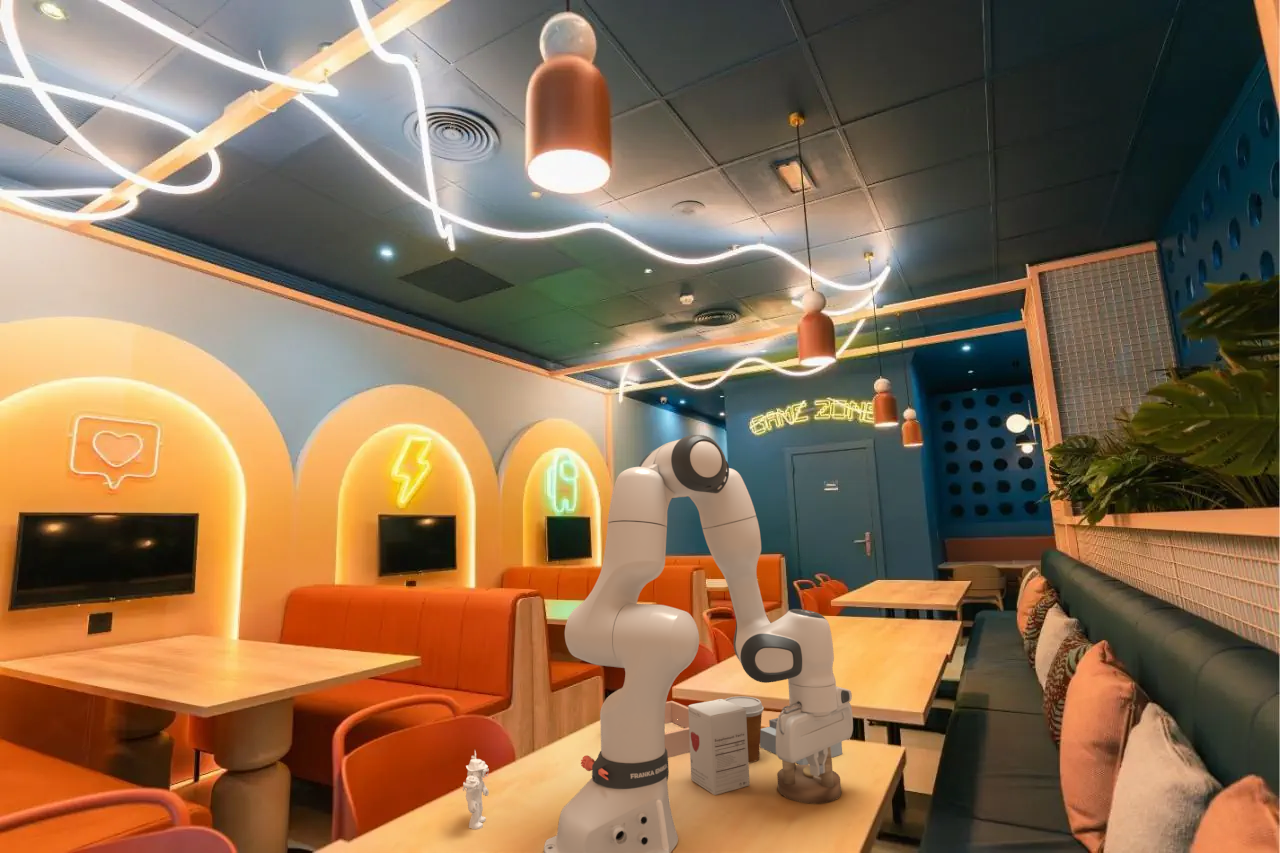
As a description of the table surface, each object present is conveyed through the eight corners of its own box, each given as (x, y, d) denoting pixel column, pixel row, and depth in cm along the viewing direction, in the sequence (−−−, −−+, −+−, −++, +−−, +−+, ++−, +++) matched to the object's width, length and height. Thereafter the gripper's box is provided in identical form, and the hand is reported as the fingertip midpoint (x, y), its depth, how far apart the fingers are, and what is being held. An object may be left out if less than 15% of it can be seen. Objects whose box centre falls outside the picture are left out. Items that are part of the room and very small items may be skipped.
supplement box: (689, 780, 133) (686, 704, 135) (725, 771, 137) (721, 697, 139) (714, 796, 125) (710, 715, 127) (751, 786, 129) (747, 707, 131)
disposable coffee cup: (766, 766, 139) (762, 708, 140) (722, 764, 140) (719, 707, 142) (766, 750, 148) (763, 696, 150) (725, 749, 150) (722, 695, 151)
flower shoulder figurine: (472, 813, 121) (473, 745, 123) (493, 812, 121) (493, 745, 123) (458, 836, 112) (458, 763, 114) (480, 836, 112) (480, 762, 114)
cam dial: (809, 809, 117) (806, 765, 119) (764, 786, 128) (762, 746, 129) (855, 793, 124) (852, 751, 125) (809, 772, 134) (806, 734, 135)
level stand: (802, 766, 138) (801, 738, 139) (760, 747, 150) (758, 721, 151) (842, 754, 144) (840, 727, 145) (798, 737, 156) (796, 712, 157)
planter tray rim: (647, 762, 143) (646, 738, 144) (603, 735, 162) (602, 714, 163) (723, 743, 154) (722, 721, 154) (673, 720, 172) (672, 700, 173)
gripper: (793, 712, 114) (798, 796, 112) (856, 689, 127) (861, 764, 125) (764, 705, 118) (769, 785, 116) (828, 684, 131) (833, 755, 130)
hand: (817, 774), depth 121 cm, fingers closed
